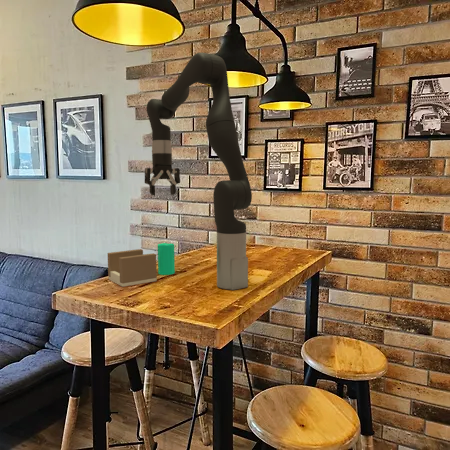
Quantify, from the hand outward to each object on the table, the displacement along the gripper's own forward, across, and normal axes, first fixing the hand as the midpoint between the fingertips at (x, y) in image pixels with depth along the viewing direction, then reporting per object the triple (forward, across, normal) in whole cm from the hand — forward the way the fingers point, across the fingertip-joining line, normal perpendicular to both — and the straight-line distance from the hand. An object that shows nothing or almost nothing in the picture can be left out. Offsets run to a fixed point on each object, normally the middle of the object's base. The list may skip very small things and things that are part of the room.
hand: (163, 194), depth 161 cm
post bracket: (+28, -21, -16) cm, 38 cm away
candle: (+28, -7, -14) cm, 32 cm away
